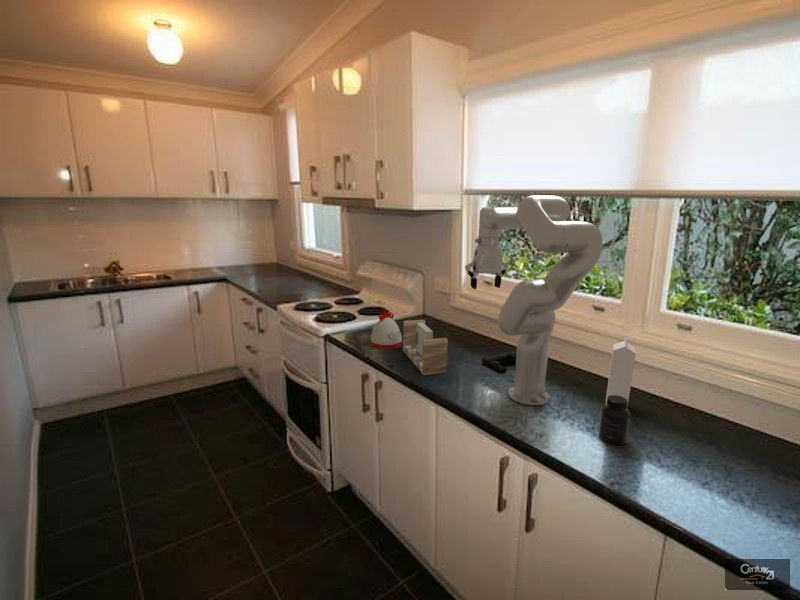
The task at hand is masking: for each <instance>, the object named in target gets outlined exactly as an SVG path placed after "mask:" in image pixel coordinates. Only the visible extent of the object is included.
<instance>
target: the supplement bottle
mask: <svg viewBox="0 0 800 600" xmlns="http://www.w3.org/2000/svg"><path fill="white" fill-rule="evenodd" d="M627 403H628V404H629V401H627V399H626V398H624V397H621V396H618V395H610V396H608V398H607V404H606V403H605V404H604V405H603V406H602V408H601V414H600V422H599V429H598V437H599V439H600V440H601V441H602V442H603V443H605V444H608V445H611V446H616V447H621V446H624V445H625V444H626V443H627V442H628V441H627V440H628V433H629V428H630V427H629V426H630V420H631V412H630V410H629V409H628V407H627Z"/></svg>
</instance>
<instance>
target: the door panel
mask: <svg viewBox="0 0 800 600" xmlns="http://www.w3.org/2000/svg"><path fill="white" fill-rule="evenodd" d="M433 335H434V331H433V330H432V329H431V328H430V327H429V326H427V325H426V323H425V324H424V323H417V332H416V353H417V354H418V355H419V356H420V357H421V359H422V355H423V340H426V339H434V336H433Z"/></svg>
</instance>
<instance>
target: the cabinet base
mask: <svg viewBox="0 0 800 600" xmlns="http://www.w3.org/2000/svg"><path fill="white" fill-rule="evenodd" d="M417 323H424V324H425V325H426V319H413V320H403V325H402V326H403V328H402V329H403V331H402V332H403V333H402V335H403V336H402V338H403V339H402V352H404V354H406V357H408V358H409V360H410V361H411V362H412V363H413V364H414V366H415V365H416V366H415V367H416V368H417V369H418V370H419V372H420V371H421V372H420V373H421V374H422V376H427V375H434V374H435V375H436V374H445V373H447V367H448V366H447V365H448V363H447V362H448V345H449V344H448V342H449V339H448V338H447V337H440V338H433V339H426V340H423V355H422V359H421V357H420V356H419V355H418V354H417V353H416V332H417Z"/></svg>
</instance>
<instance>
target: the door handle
mask: <svg viewBox="0 0 800 600" xmlns="http://www.w3.org/2000/svg"><path fill="white" fill-rule="evenodd" d="M516 354H517V349H516V350H511V351H507V352H503V353H498V354H495V355H489V356H485V357H483V358H482V359H481V364H482V365H484V366H487V367H489V368H490V369H493V370H494V371H496V372H498V373H499V374H504V373H506V372H507V371H508V368H507V367H512V366H516Z"/></svg>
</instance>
